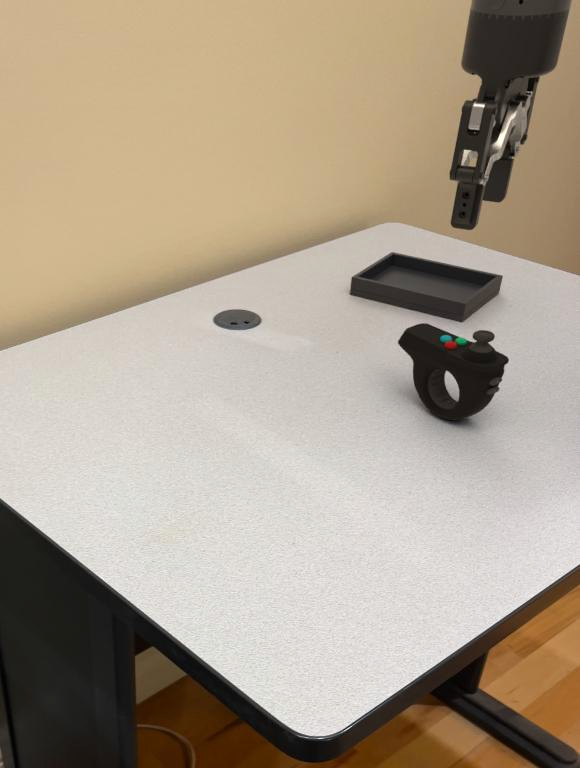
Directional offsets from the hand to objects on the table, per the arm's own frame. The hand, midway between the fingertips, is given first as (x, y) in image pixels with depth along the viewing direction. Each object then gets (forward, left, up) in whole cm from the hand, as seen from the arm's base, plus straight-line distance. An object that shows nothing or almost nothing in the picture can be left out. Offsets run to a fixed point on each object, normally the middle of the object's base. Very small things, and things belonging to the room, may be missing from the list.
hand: (478, 213), depth 82 cm
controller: (+1, -2, -21) cm, 21 cm away
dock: (+17, -30, -21) cm, 40 cm away
